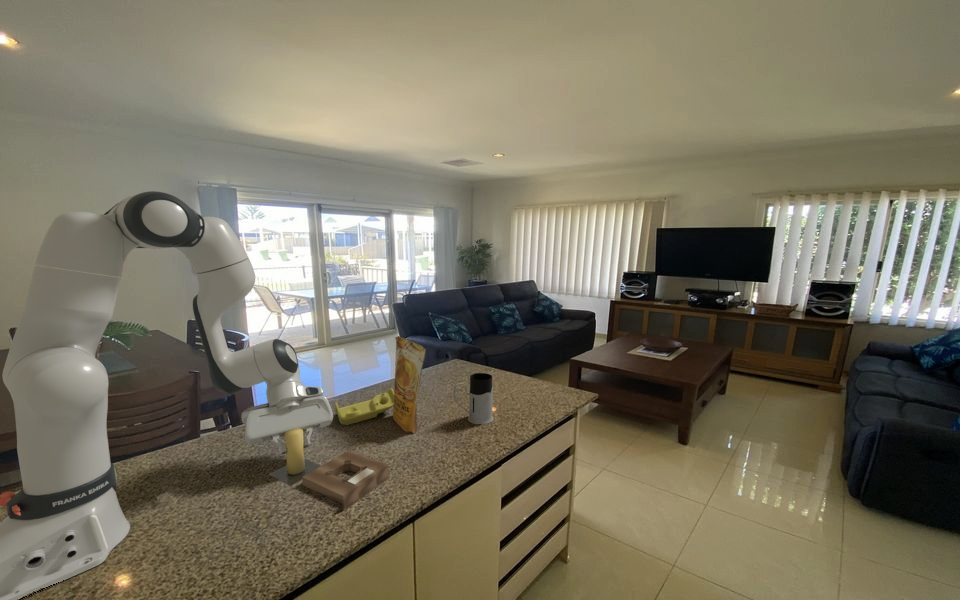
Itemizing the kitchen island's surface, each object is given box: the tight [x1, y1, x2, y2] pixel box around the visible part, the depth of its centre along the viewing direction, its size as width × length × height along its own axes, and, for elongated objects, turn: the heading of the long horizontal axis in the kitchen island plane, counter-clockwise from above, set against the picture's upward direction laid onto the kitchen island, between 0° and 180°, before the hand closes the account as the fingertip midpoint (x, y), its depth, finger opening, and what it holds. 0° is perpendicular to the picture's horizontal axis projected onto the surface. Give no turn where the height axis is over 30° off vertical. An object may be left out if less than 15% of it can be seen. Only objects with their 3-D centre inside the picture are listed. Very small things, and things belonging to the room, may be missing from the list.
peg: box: [284, 429, 305, 475], centre depth 94 cm, size 4×4×10 cm
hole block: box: [301, 450, 390, 511], centre depth 91 cm, size 14×14×4 cm
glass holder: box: [453, 372, 494, 425], centre depth 126 cm, size 9×14×15 cm, turn 115°
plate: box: [268, 458, 322, 487], centre depth 95 cm, size 9×9×2 cm
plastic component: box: [334, 387, 394, 426], centre depth 131 cm, size 20×7×10 cm
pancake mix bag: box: [392, 335, 427, 434], centre depth 123 cm, size 7×19×28 cm, turn 33°
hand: (295, 450), depth 93 cm, fingers closed on peg, 4 cm apart
